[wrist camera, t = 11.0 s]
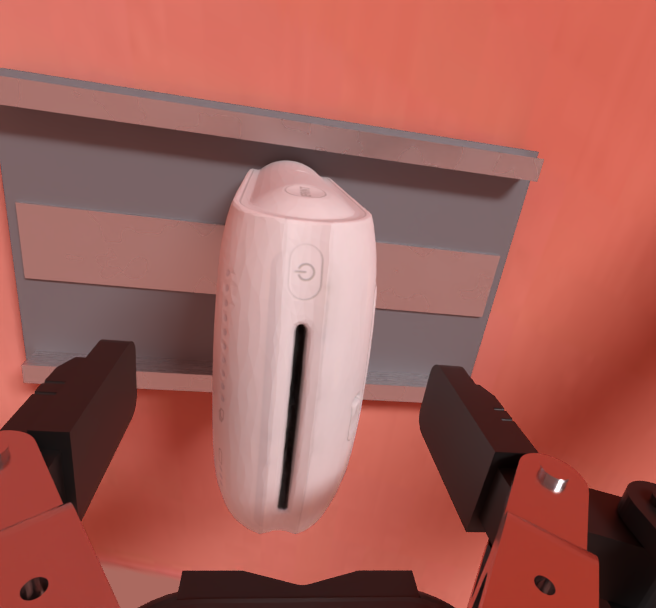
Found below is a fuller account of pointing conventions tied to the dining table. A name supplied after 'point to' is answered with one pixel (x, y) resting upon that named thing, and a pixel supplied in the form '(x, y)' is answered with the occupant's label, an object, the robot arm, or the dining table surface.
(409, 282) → the striped rectangular tray
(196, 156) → the mounting board
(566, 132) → the dining table surface
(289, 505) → the photo printer
